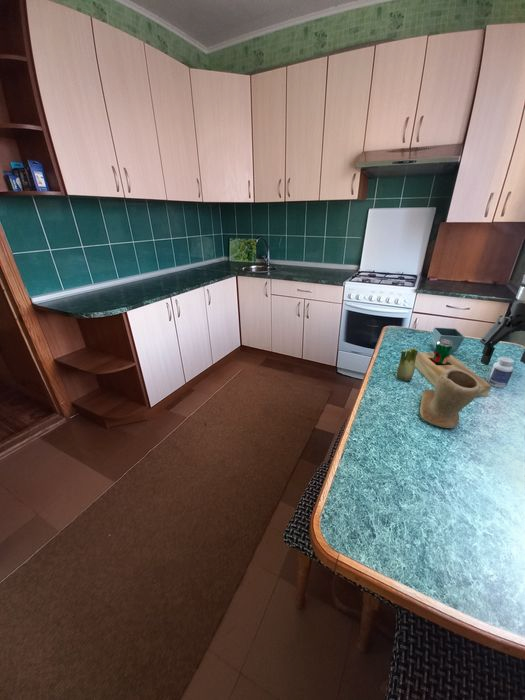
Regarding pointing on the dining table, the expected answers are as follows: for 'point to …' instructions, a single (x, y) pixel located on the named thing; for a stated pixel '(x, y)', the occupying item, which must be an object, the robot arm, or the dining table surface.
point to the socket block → (434, 371)
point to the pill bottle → (501, 372)
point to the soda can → (442, 352)
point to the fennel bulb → (407, 365)
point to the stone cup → (448, 398)
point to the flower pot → (448, 337)
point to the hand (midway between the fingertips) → (504, 363)
